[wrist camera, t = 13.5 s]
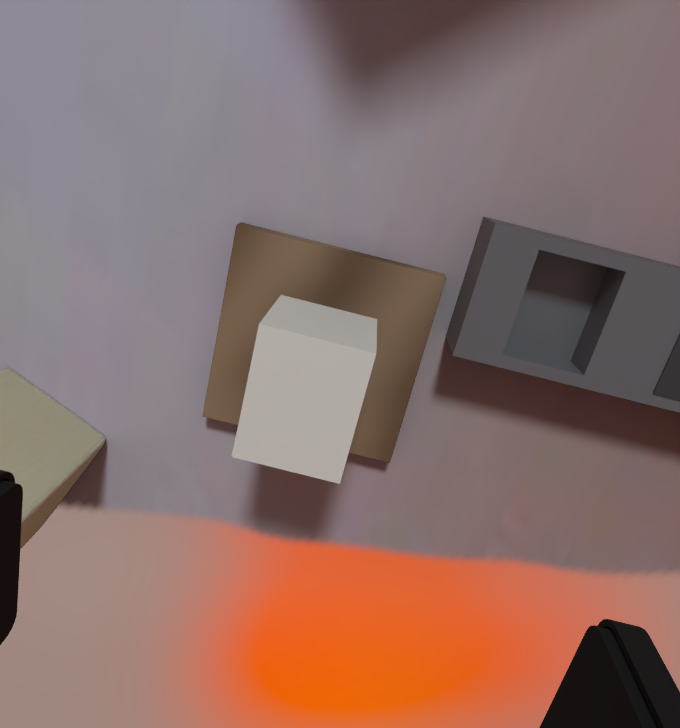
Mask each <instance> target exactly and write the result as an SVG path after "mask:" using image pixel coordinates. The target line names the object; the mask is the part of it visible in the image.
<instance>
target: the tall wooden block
mask: <svg viewBox="0 0 680 728" xmlns="http://www.w3.org/2000/svg"><path fill="white" fill-rule="evenodd" d="M104 443H105V438H104V436H103V435H102V434H100V433H99V432H98V431H96V430H95V429H93V428H92V427H91V426H89V425H88V424H86V423H85V422H84V421H82V420H81V419H80V418H78V417H77V416H76V415H74V414H73V413H71V412H69V411H68V410H67V409H66V408H64V407H63V406H62V405H60V404H59V403H57V402H56V401H55V400H53V399H52V398H50V397H49V396H48V395H47V394H45V393H43V392H42V391H41V390H39V389H38V388H36V387H35V386H34V385H32V384H31V383H29V382H28V381H27V380H25V379H24V378H22V377H21V376H20V375H18V374H17V373H15V372H14V371H12V370H11V369H8V368H6V369H3V370H1V371H0V470H4V471H8V472H10V473H12V474H13V475H14V478H15V483H17V484H20V485H21V486H22V488H23V502H22V522H21V541H20V549H21V548H22V547H23V546H24V545H25V544H26V543H27V542H28V540H29V539H30V538H31V537H32V536H33V535H34V534H35V533H36V532H37V531H38V530H39V529H40V527H41V526H42V525H43V524H44V523H45V521H46V520H47V519H48V517H49V516H50V515H51V514H52V512H53V511H54V510H55V509H56V507H57V506H58V505H59V503H60V502H61V501H62V499H63V498H64V497H65V495H66V494H67V493H68V491H69V490H70V489H71V488H72V486H73V485H74V484H75V482H76V481H77V480H78V478H79V477H80V476H81V474H82V473H83V472H84V470H85V469H86V468H87V466H88V465H89V464H90V463H91V461H92V460H93V459H94V457H95V456H96V455H97V453H98V452H99V451H100V449H101V448H102V447H103V445H104Z"/></svg>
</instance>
